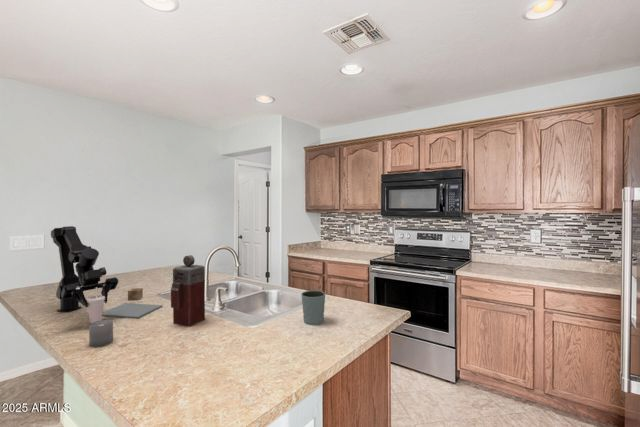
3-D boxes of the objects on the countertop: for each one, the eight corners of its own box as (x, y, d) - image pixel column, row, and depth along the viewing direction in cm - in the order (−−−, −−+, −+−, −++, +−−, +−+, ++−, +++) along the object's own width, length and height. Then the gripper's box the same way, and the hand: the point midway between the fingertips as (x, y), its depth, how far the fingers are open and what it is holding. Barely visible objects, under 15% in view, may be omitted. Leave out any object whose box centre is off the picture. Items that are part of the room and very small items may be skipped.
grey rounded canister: (84, 346, 110) (83, 326, 109) (101, 337, 116) (101, 319, 116) (101, 347, 108) (101, 327, 108) (117, 339, 115) (117, 320, 115)
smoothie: (95, 325, 124) (94, 290, 123) (81, 323, 125) (81, 288, 125) (109, 319, 130) (108, 285, 130) (96, 318, 131) (95, 284, 131)
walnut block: (127, 300, 161) (127, 291, 161) (132, 297, 166) (132, 288, 166) (138, 300, 162) (138, 290, 162) (142, 297, 167) (142, 288, 166)
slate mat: (97, 315, 139) (97, 314, 139) (125, 304, 155) (125, 302, 155) (138, 318, 136) (138, 316, 136) (162, 306, 152) (162, 305, 152)
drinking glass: (330, 321, 134) (330, 293, 134) (313, 328, 127) (313, 298, 126) (313, 315, 141) (313, 288, 141) (296, 321, 134) (296, 293, 133)
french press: (168, 325, 129) (167, 257, 128) (189, 316, 139) (188, 253, 138) (185, 328, 125) (184, 258, 124) (205, 319, 136) (204, 254, 135)
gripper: (62, 265, 122) (73, 299, 115) (116, 258, 137) (128, 288, 131) (56, 282, 126) (66, 315, 120) (109, 274, 142) (120, 303, 135)
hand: (96, 304), depth 127 cm, fingers closed on smoothie, 6 cm apart
